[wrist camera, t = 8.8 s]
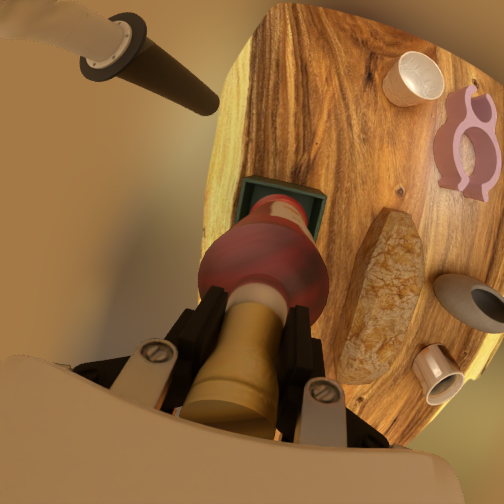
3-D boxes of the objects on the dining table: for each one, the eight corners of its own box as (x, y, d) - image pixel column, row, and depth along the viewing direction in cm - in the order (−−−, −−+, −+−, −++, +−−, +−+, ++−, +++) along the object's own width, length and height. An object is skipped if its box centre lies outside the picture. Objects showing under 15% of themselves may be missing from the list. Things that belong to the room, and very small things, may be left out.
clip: (437, 83, 33) (455, 74, 26) (483, 108, 32) (503, 104, 25) (428, 182, 39) (447, 186, 33) (474, 200, 38) (495, 206, 32)
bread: (370, 372, 53) (379, 404, 43) (324, 370, 54) (328, 403, 44) (419, 214, 41) (446, 227, 32) (365, 204, 42) (384, 214, 33)
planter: (484, 273, 42) (534, 313, 24) (472, 302, 44) (516, 348, 27) (425, 255, 43) (478, 299, 26) (412, 288, 46) (456, 343, 28)
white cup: (414, 74, 33) (439, 57, 24) (420, 113, 36) (447, 104, 26) (375, 67, 35) (394, 46, 25) (381, 108, 37) (402, 94, 28)
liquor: (238, 204, 33) (65, 345, 6) (295, 182, 31) (325, 270, 4) (261, 258, 34) (188, 478, 8) (316, 238, 33) (375, 460, 6)
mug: (405, 377, 52) (417, 410, 42) (416, 338, 49) (435, 370, 38) (440, 370, 50) (455, 400, 40) (453, 332, 47) (474, 360, 36)
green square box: (253, 175, 44) (242, 177, 34) (319, 189, 43) (327, 196, 33) (241, 237, 47) (228, 257, 37) (303, 252, 47) (306, 275, 37)
